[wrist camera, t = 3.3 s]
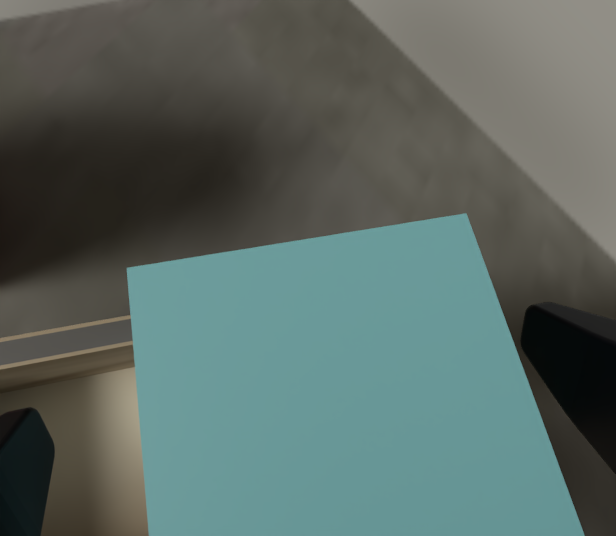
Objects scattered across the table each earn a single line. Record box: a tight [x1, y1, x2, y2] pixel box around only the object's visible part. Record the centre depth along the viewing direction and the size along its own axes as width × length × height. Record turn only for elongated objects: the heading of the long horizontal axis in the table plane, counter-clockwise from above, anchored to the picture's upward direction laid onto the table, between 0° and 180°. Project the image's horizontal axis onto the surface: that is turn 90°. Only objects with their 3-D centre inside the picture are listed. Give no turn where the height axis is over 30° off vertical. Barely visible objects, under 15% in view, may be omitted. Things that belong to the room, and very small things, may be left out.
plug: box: [127, 214, 585, 536], centre depth 9 cm, size 4×4×10 cm
